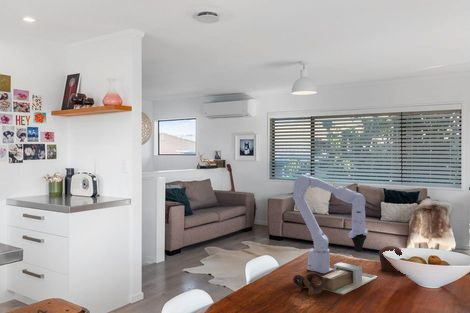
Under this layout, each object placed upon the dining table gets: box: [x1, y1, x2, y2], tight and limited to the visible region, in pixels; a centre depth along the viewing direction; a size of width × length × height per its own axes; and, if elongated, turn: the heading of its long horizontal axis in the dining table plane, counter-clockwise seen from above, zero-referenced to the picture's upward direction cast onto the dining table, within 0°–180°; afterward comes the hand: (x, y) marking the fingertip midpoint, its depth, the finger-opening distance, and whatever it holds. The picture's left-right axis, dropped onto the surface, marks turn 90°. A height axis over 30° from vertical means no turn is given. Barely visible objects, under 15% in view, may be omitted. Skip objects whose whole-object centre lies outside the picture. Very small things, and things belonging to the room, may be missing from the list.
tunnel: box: [323, 262, 379, 296], centre depth 161 cm, size 12×28×7 cm, turn 135°
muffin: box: [378, 245, 402, 272], centre depth 179 cm, size 12×11×10 cm
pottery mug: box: [292, 271, 325, 296], centre depth 150 cm, size 12×10×8 cm
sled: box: [321, 269, 353, 292], centre depth 156 cm, size 5×19×4 cm, turn 135°
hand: (358, 251), depth 173 cm, fingers closed
